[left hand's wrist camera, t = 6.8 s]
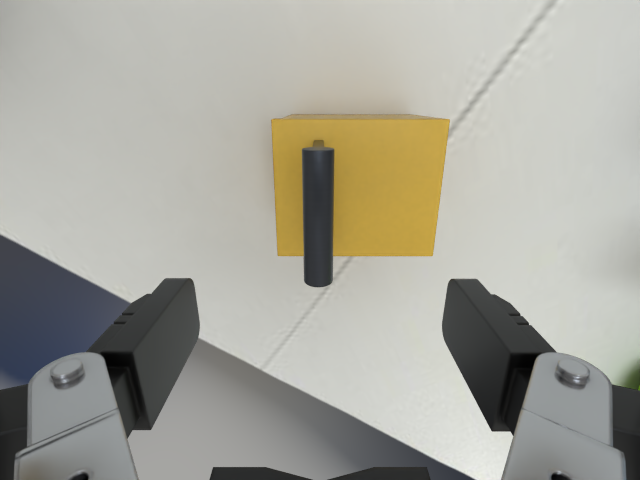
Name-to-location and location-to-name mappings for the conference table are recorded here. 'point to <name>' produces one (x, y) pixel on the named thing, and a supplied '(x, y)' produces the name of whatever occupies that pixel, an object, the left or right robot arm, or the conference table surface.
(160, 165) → the conference table surface
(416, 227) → the lid
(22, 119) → the conference table surface
